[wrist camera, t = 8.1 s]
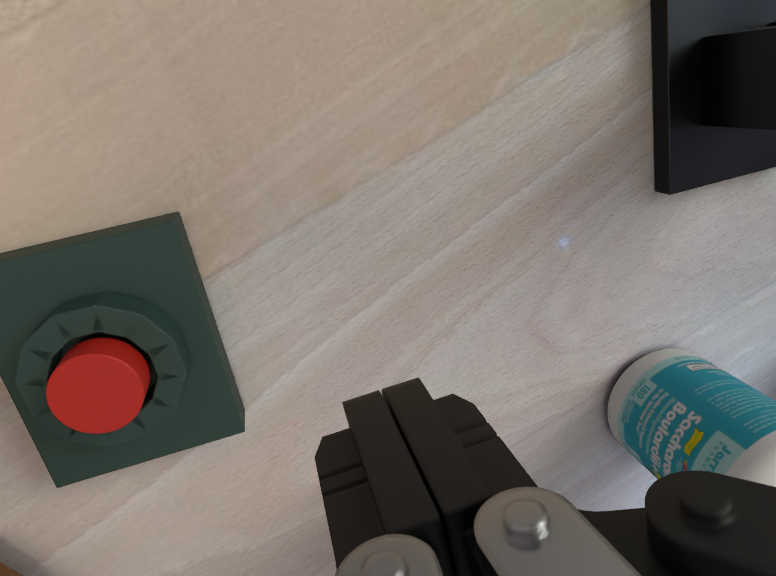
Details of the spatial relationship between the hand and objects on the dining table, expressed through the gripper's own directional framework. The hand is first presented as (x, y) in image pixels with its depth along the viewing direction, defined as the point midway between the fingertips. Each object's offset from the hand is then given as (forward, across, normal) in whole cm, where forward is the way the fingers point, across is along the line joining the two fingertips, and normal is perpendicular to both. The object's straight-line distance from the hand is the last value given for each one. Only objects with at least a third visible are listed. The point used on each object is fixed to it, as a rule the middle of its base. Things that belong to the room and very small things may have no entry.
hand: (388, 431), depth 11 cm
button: (+15, +10, +3) cm, 18 cm away
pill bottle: (+19, -19, +17) cm, 32 cm away
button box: (+19, +10, +3) cm, 21 cm away
